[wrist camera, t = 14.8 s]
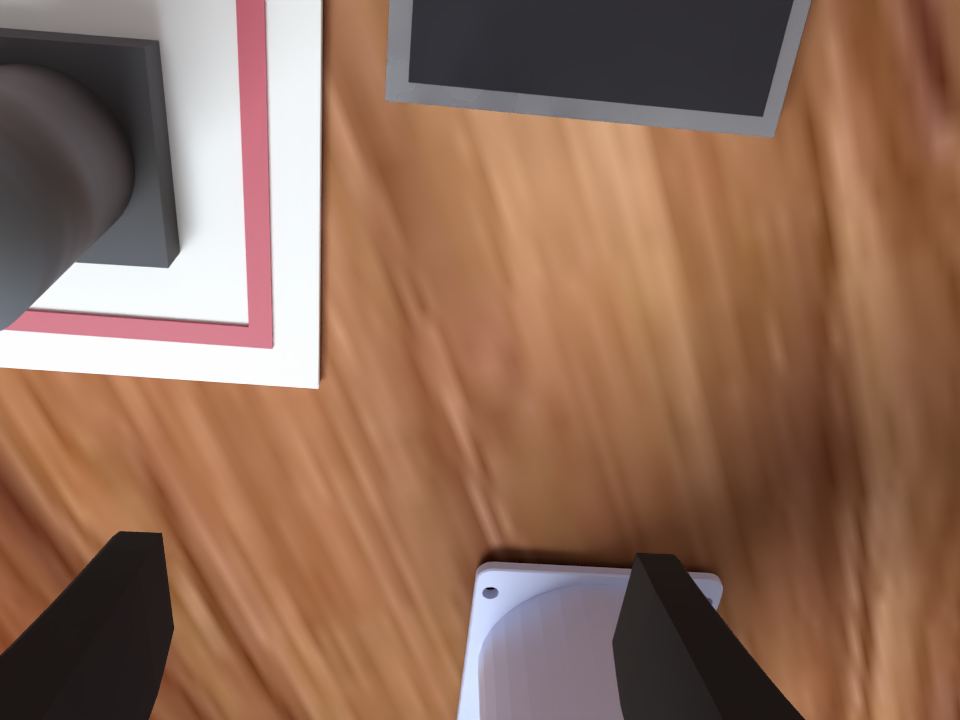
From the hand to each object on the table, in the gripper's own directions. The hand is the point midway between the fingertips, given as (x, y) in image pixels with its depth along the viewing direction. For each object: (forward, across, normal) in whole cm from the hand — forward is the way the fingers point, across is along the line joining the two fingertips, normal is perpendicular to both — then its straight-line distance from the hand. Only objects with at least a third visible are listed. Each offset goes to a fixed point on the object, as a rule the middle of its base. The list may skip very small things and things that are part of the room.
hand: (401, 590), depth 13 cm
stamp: (+10, +8, -3) cm, 14 cm away
